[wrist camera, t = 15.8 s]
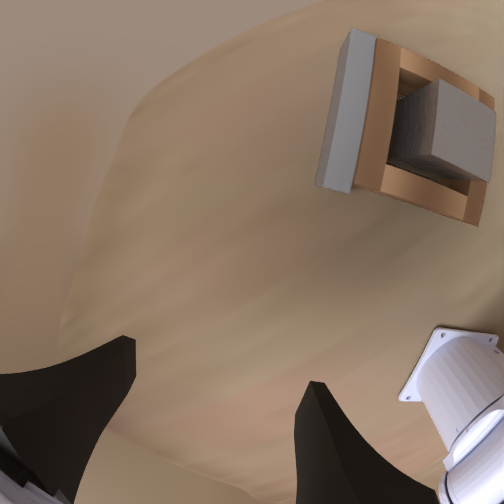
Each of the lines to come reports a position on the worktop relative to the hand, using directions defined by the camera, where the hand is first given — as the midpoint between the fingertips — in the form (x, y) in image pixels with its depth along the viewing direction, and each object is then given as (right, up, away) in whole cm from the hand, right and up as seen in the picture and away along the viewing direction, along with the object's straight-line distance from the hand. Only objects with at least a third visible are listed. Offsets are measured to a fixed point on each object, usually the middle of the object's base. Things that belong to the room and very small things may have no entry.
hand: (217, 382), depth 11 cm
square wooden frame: (+12, +13, +6) cm, 19 cm away
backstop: (+7, +14, +6) cm, 17 cm away
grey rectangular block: (+12, +13, +6) cm, 19 cm away
